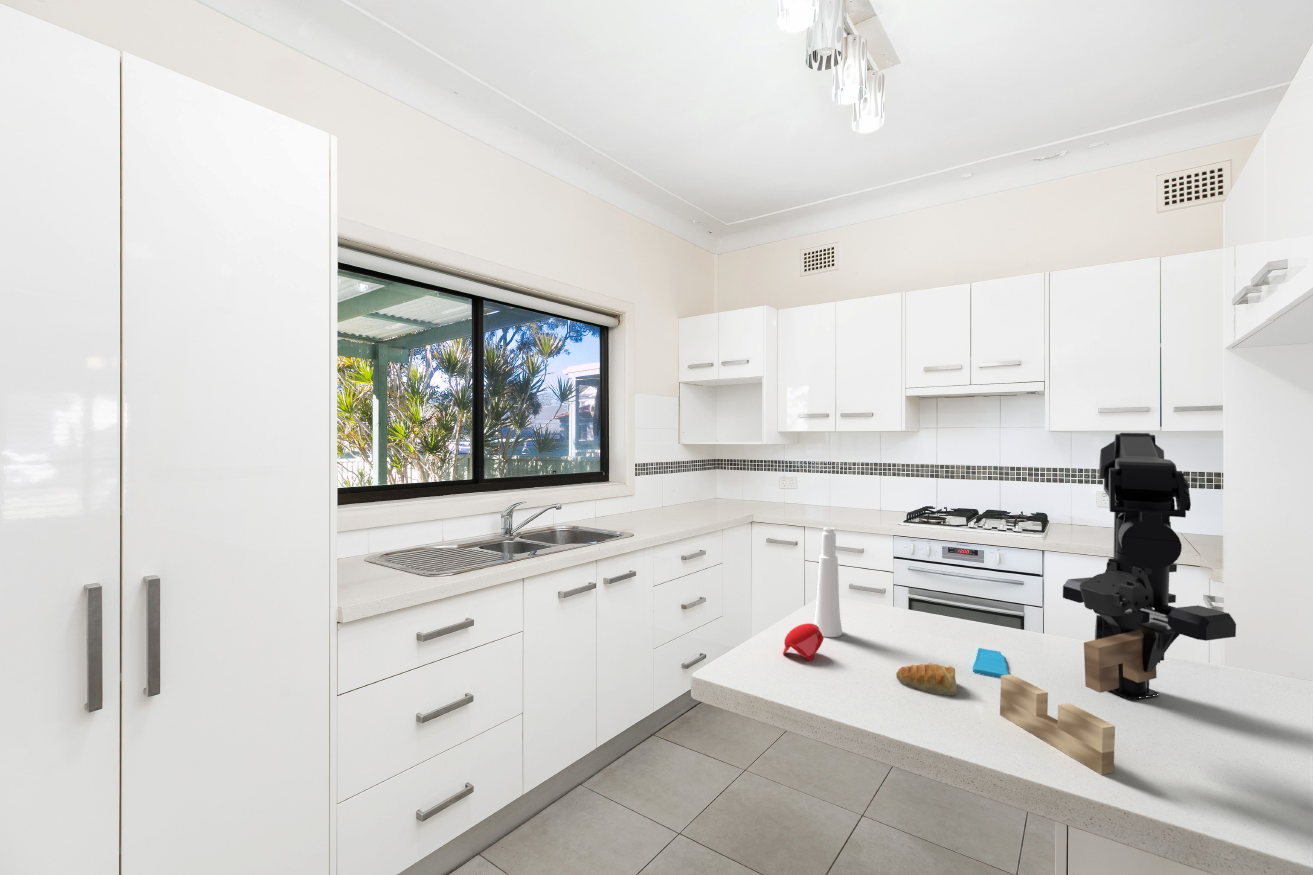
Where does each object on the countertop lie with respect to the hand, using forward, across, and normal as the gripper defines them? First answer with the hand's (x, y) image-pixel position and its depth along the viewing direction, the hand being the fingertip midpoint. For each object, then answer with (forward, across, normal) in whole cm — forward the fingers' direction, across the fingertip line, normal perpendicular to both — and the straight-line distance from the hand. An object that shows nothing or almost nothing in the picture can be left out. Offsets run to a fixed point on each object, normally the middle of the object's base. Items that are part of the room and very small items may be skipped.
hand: (1138, 668), depth 82 cm
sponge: (+12, -28, +4) cm, 31 cm away
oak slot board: (+11, -5, -10) cm, 15 cm away
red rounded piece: (+11, -41, -28) cm, 51 cm away
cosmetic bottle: (+11, -51, -16) cm, 54 cm away
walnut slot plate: (+2, 0, -3) cm, 3 cm away
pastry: (+12, -24, -13) cm, 30 cm away
